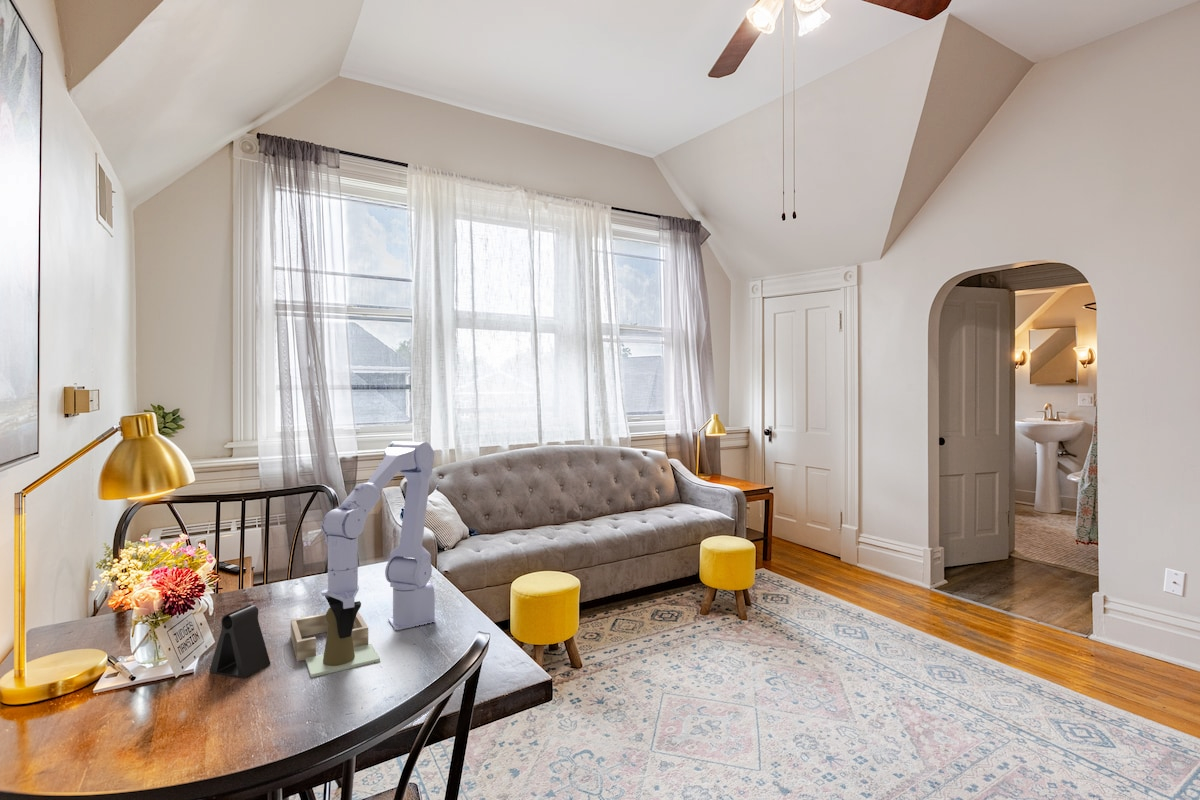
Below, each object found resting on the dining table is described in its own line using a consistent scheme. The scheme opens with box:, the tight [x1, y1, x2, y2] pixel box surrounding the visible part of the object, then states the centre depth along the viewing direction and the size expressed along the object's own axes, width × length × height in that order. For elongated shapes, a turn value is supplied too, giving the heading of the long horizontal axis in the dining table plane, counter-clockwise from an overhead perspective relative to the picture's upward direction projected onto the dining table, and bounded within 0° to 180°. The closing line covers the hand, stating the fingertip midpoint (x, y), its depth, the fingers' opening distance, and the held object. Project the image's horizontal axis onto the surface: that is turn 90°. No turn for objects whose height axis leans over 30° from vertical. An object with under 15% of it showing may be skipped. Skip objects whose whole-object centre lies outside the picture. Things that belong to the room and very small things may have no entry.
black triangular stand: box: [208, 604, 271, 680], centre depth 117 cm, size 9×6×12 cm, turn 75°
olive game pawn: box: [323, 607, 355, 666], centre depth 120 cm, size 6×6×11 cm
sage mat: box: [305, 643, 381, 678], centre depth 121 cm, size 13×8×1 cm, turn 123°
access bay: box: [290, 611, 369, 662], centre depth 130 cm, size 14×14×4 cm
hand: (342, 632), depth 120 cm, fingers closed on olive game pawn, 5 cm apart
